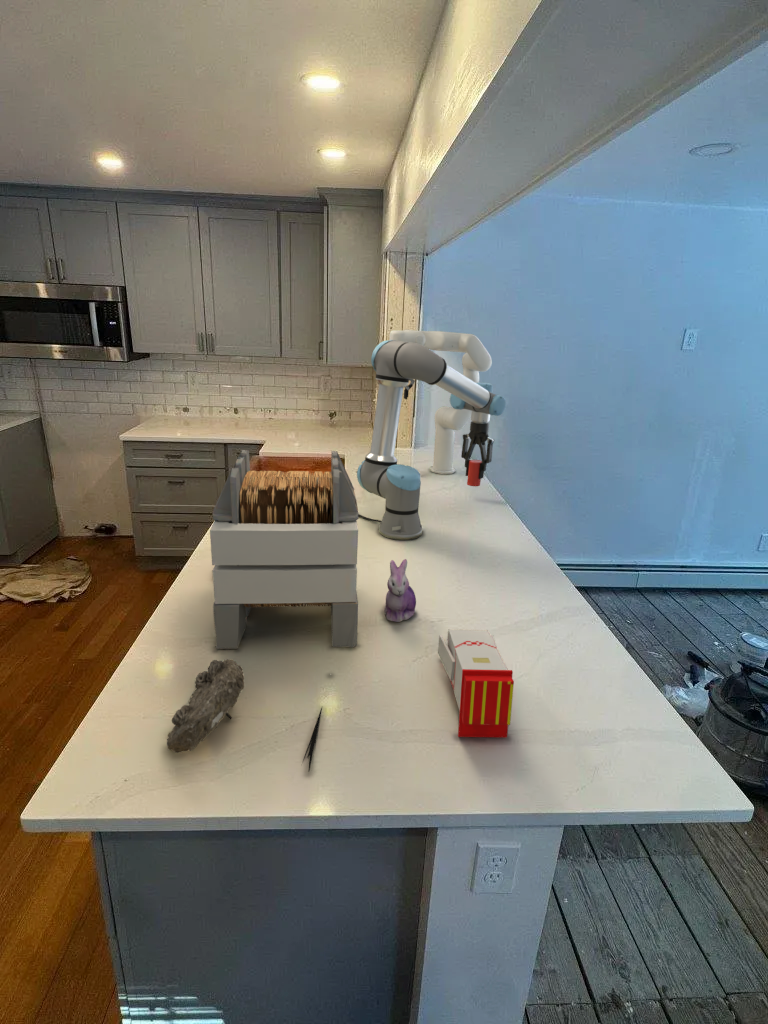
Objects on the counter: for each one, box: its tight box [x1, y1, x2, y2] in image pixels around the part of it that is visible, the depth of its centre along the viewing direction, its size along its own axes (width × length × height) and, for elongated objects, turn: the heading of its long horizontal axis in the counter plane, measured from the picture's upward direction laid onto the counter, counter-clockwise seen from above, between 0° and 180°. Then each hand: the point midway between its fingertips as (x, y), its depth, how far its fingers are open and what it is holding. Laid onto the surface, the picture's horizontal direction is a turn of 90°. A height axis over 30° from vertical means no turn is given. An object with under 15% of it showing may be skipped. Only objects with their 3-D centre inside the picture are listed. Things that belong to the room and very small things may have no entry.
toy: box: [437, 628, 515, 738], centre depth 117 cm, size 12×13×30 cm
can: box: [466, 459, 482, 487], centre depth 237 cm, size 6×6×10 cm
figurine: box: [384, 558, 417, 623], centre depth 145 cm, size 9×10×15 cm
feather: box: [301, 673, 332, 771], centre depth 108 cm, size 2×28×2 cm
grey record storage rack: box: [209, 449, 360, 651], centre depth 139 cm, size 34×33×41 cm
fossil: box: [166, 658, 245, 754], centre depth 106 cm, size 22×10×15 cm
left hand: (474, 476), depth 238 cm, fingers closed on can, 5 cm apart
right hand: (395, 398), depth 255 cm, fingers open, 9 cm apart
